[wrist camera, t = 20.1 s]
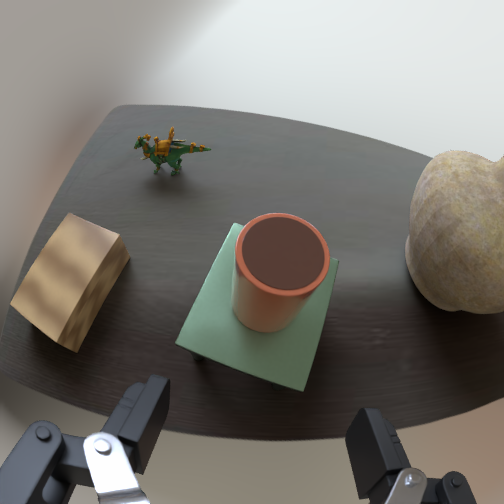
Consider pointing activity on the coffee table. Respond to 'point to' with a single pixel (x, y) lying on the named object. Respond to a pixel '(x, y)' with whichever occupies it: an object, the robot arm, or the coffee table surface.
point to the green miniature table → (247, 340)
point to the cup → (276, 270)
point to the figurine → (167, 150)
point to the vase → (459, 233)
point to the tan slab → (71, 280)
